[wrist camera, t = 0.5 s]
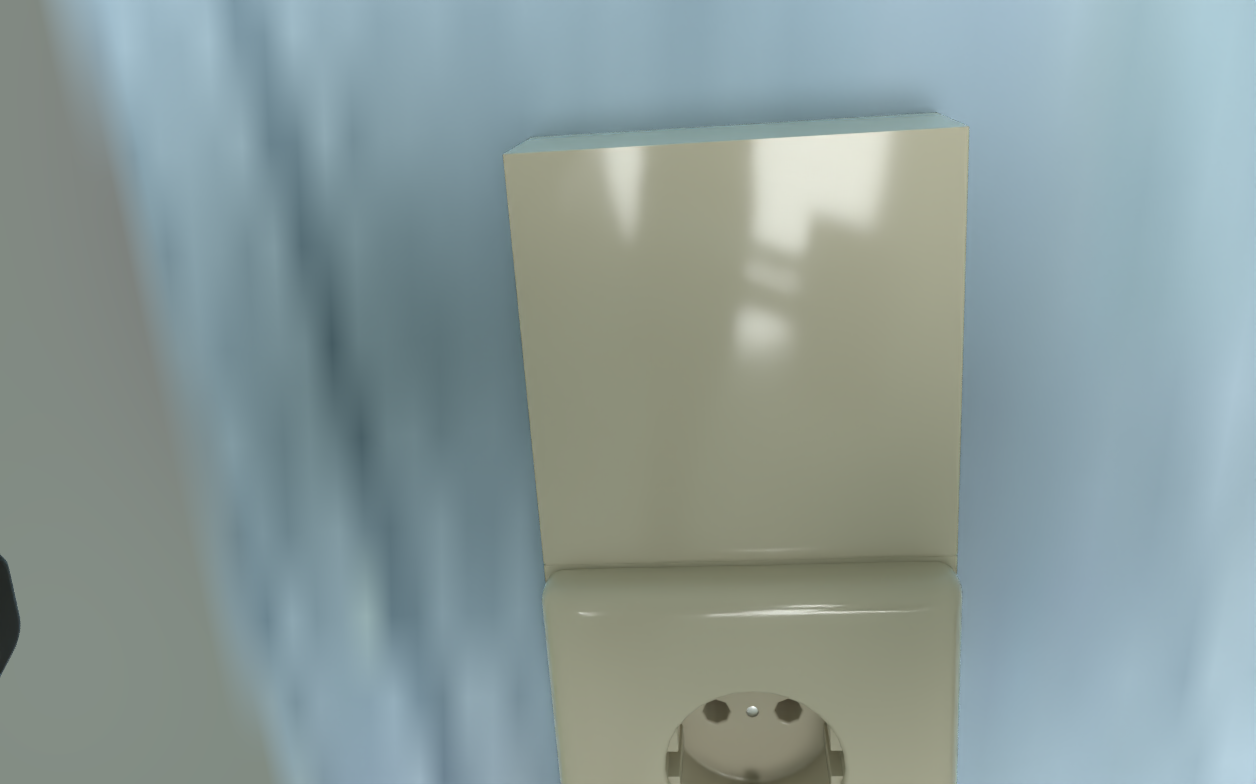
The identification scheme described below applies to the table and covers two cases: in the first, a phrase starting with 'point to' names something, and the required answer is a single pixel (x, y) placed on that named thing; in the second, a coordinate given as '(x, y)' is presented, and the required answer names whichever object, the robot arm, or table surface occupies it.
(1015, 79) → the table surface
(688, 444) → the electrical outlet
